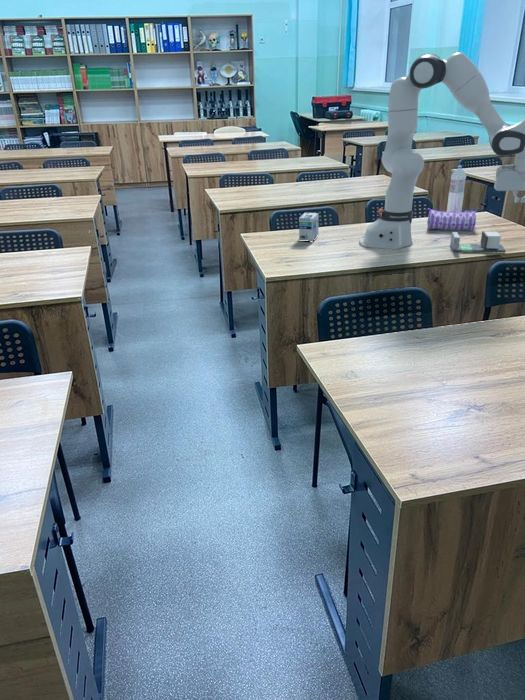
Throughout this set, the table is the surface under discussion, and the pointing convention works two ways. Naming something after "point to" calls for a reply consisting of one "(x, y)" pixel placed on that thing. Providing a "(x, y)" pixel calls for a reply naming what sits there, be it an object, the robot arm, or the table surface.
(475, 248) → the rail
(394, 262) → the table surface
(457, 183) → the water bottle
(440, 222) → the pencil case
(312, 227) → the light bulb box
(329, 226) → the table surface
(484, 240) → the white cube on plate
